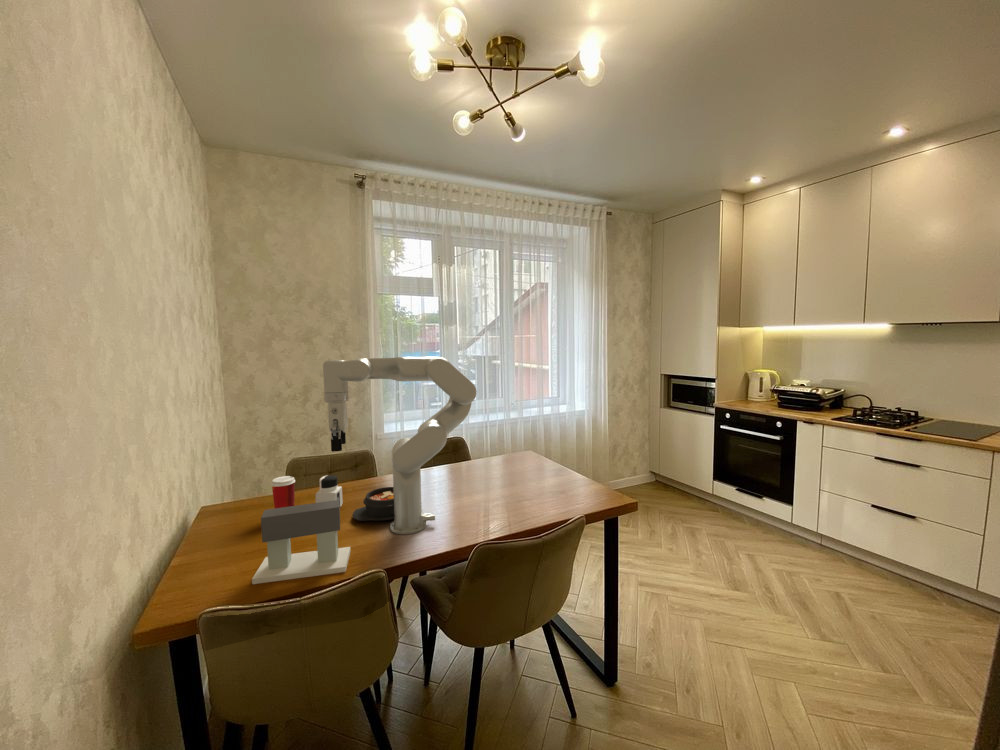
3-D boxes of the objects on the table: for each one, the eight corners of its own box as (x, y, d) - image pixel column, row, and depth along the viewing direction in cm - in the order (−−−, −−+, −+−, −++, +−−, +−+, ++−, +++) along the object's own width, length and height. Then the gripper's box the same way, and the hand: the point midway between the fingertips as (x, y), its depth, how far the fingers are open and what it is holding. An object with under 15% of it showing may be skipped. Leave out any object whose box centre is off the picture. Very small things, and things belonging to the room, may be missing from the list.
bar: (340, 522, 126) (339, 499, 125) (339, 530, 120) (338, 507, 120) (266, 533, 119) (264, 509, 118) (262, 542, 113) (260, 518, 113)
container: (343, 504, 167) (341, 473, 166) (336, 512, 159) (334, 479, 158) (323, 505, 167) (322, 473, 166) (315, 512, 159) (314, 480, 158)
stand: (350, 551, 129) (349, 518, 128) (345, 571, 117) (344, 536, 117) (266, 561, 123) (264, 527, 123) (252, 584, 112) (249, 547, 111)
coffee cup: (291, 511, 161) (289, 474, 159) (301, 517, 155) (299, 478, 154) (268, 518, 154) (266, 479, 153) (278, 524, 149) (275, 484, 148)
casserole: (354, 531, 143) (354, 507, 142) (350, 511, 160) (349, 490, 159) (425, 517, 153) (425, 496, 153) (414, 500, 170) (413, 481, 170)
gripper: (345, 399, 130) (347, 453, 131) (351, 393, 146) (353, 440, 148) (319, 400, 128) (322, 455, 129) (328, 394, 145) (331, 442, 146)
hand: (338, 447), depth 138 cm, fingers open, 9 cm apart
